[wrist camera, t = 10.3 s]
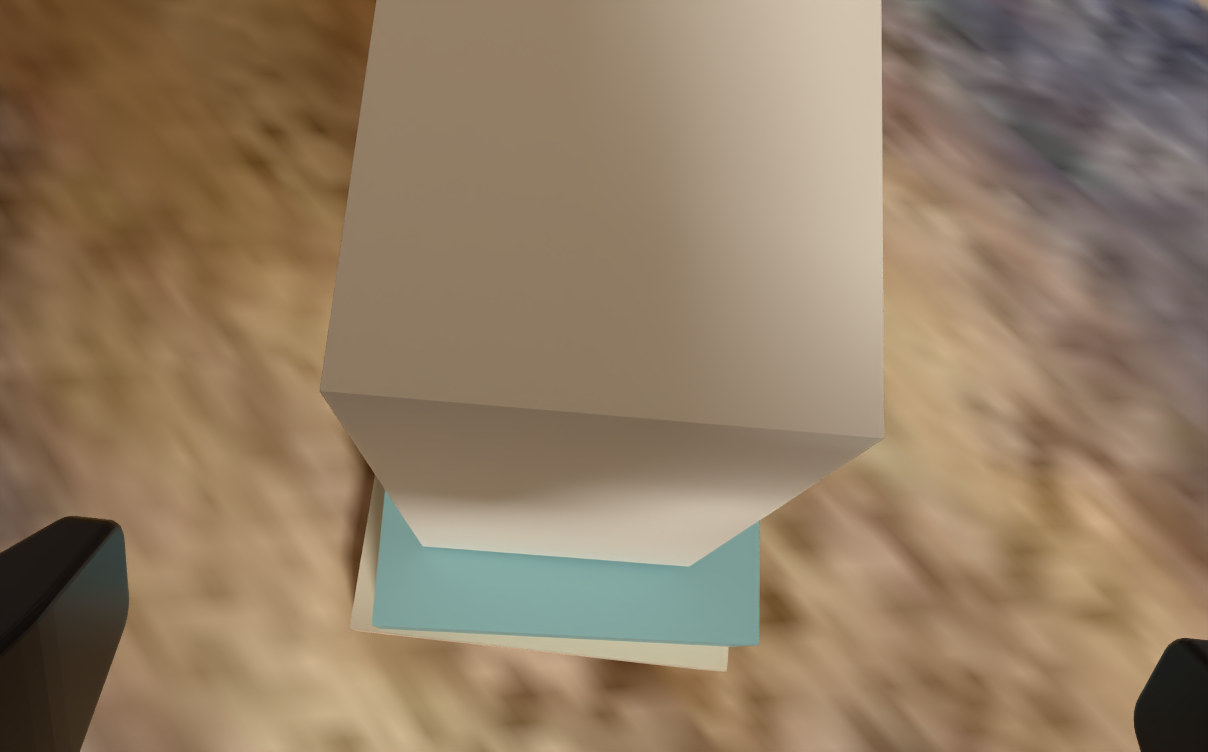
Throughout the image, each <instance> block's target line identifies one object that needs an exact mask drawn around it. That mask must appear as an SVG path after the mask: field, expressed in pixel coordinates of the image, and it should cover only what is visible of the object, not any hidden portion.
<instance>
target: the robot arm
mask: <svg viewBox="0 0 1208 752" xmlns="http://www.w3.org/2000/svg"><path fill="white" fill-rule="evenodd" d="M128 608H129V592H128V579H127V566H126V554H125V541H124V534H123V531H122V529H121V526H120V525H119V524H118V523H116V522H115V521H113V520H106V519H97V518H88V517H79V516H67V517H64V518H61V519H59V520H57V521H55V522H54V523H52V524H50V525H48V526H47V527H45V528H43V529H41V530H40V531H38V532H36V533H34V534H33V535H31V536H29V537H27V538H26V539H24V540H22V541H20V542H19V543H17V544H15V545H14V546H12V547H10V548H8V549H7V550H5V551H3V552H1V553H0V752H80V750H81V747H82V744H83V741H84V739H85V736H86V733H87V730H88V727H89V725H90V722H91V719H92V716H93V714H94V711H95V708H96V705H97V703H98V700H99V697H100V694H101V691H102V689H103V686H104V683H105V680H106V678H107V675H108V672H109V669H110V666H111V664H112V661H113V658H114V655H115V653H116V650H117V647H118V644H119V642H120V639H121V636H122V633H123V630H124V627H125V624H126V620H127V615H128ZM1134 728H1135V733H1136V737H1137V740H1138V744H1139V747H1140V750H1141V752H1208V640H1200V639H1190V638H1181V639H1176V640H1175V641H1173V642H1172V643H1171V644H1169V645H1168V647H1167V648H1166V649H1165V651H1164V653H1163V655H1162V656H1161V658H1160V660H1159V662H1158V664H1157V665H1156V667H1155V669H1154V671H1153V673H1152V674H1151V676H1150V678H1149V680H1148V682H1147V684H1146V685H1145V687H1144V689H1143V691H1142V693H1141V694H1140V696H1139V698H1138V700H1137V702H1136V706H1135V710H1134Z"/></svg>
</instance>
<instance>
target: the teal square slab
mask: <svg viewBox="0 0 1208 752" xmlns="http://www.w3.org/2000/svg"><path fill="white" fill-rule="evenodd" d="M759 580H760V520H759V521H758V522H756V523H755V524H753V525H752V526H750V527H749V528H747V529H746V530H744V531H743V532H741V533H740V534H738V535H736V536H735V537H733V538H732V539H730V540H729V541H727V542H726V543H724V544H723V545H721V546H720V547H718V548H717V549H715V550H714V551H712V552H711V553H709V554H708V555H706V556H705V557H703V558H701V559H700V560H698V561H697V562H695V563H694V564H692V565H691V566H689V567H687V566H674V565H661V564H648V563H634V562H621V561H608V560H595V559H582V558H569V557H556V556H543V555H530V554H516V553H503V552H490V551H477V550H464V549H451V548H438V547H425V546H422V545H421V543H420V542H419V540H418V539H417V537H416V536H415V534H414V532H413V531H412V529H411V528H410V526H409V525H408V523H407V522H406V520H405V519H404V517H403V516H402V514H401V513H400V511H399V510H398V508H397V507H396V505H395V504H394V502H393V501H392V499H391V498H390V496H389V495H388V493H387V492H386V490H385V496H384V506H383V516H382V526H381V536H380V546H379V556H378V566H377V576H376V586H375V596H374V606H373V616H372V626H375V627H377V628H380V629H393V630H412V631H432V632H451V633H471V634H491V635H510V636H530V637H549V638H569V639H589V640H608V641H628V642H648V643H667V644H687V645H706V646H726V647H737V646H754V645H759Z"/></svg>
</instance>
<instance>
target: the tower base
mask: <svg viewBox="0 0 1208 752" xmlns="http://www.w3.org/2000/svg"><path fill="white" fill-rule="evenodd" d="M384 496H385V489H384V487H383V486H382V484H381V483H380V481H379V480H378V478H377V477H376V475H375V478H374V484H373V490H372V496H371V502H370V508H369V514H368V520H367V526H366V532H365V538H364V544H363V550H362V556H361V562H360V568H359V574H358V580H357V586H356V592H355V598H354V604H353V610H352V616H351V622H350V628H349V629H352V630H355V631H362V632H371V633H380V634H389V635H397V636H406V637H415V638H424V639H433V640H442V641H451V642H459V643H468V644H477V645H486V646H495V647H504V648H513V649H522V650H530V651H539V652H548V653H557V654H566V655H575V656H584V657H592V658H601V659H610V660H619V661H628V662H637V663H646V664H654V665H663V666H672V667H681V668H690V669H699V670H708V671H727V661H728V647H726V646H706V645H687V644H667V643H648V642H628V641H608V640H589V639H569V638H549V637H530V636H510V635H491V634H471V633H451V632H432V631H412V630H393V629H380V628H377V627H375V626H372V616H373V606H374V596H375V586H376V576H377V566H378V556H379V546H380V536H381V526H382V516H383V506H384Z"/></svg>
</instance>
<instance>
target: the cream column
mask: <svg viewBox="0 0 1208 752" xmlns="http://www.w3.org/2000/svg"><path fill="white" fill-rule="evenodd" d="M320 392H321V394H322V395H323V397H324V398H325V400H326V401H327V403H328V404H329V406H330V407H331V409H332V410H333V412H334V413H335V415H336V416H337V418H338V419H339V421H340V422H341V424H342V425H343V427H344V429H345V430H346V432H347V433H348V435H349V436H350V438H351V439H352V441H353V442H354V444H355V445H356V447H357V448H358V450H359V451H360V453H361V454H362V456H363V457H364V459H365V460H366V462H367V463H368V465H369V466H370V468H371V469H372V471H373V472H374V474H375V475H376V477H377V478H378V480H379V481H380V483H381V484H382V486H383V487H384V489H385V490H386V492H387V493H388V495H389V496H390V498H391V499H392V501H393V502H394V504H395V505H396V507H397V508H398V510H399V511H400V513H401V514H402V516H403V517H404V519H405V520H406V522H407V523H408V525H409V526H410V528H411V529H412V531H413V532H414V534H415V536H416V537H417V539H418V540H419V542H420V543H421V545H422V546H425V547H438V548H451V549H464V550H477V551H490V552H503V553H516V554H530V555H543V556H556V557H569V558H582V559H595V560H608V561H621V562H634V563H648V564H661V565H674V566H687V567H689V566H691V565H692V564H694V563H695V562H697V561H698V560H700V559H701V558H703V557H705V556H706V555H708V554H709V553H711V552H712V551H714V550H715V549H717V548H718V547H720V546H721V545H723V544H724V543H726V542H727V541H729V540H730V539H732V538H733V537H735V536H736V535H738V534H740V533H741V532H743V531H744V530H746V529H747V528H749V527H750V526H752V525H753V524H755V523H756V522H758V521H759V520H761V519H762V518H764V517H765V516H767V515H768V514H770V513H771V512H773V511H775V510H776V509H778V508H779V507H781V506H782V505H784V504H785V503H787V502H788V501H790V500H791V499H793V498H794V497H796V496H797V495H799V494H800V493H802V492H803V491H805V490H806V489H808V488H810V487H811V486H813V485H814V484H816V483H817V482H819V481H820V480H822V479H823V478H825V477H826V476H828V475H829V474H831V473H832V472H834V471H835V470H837V469H838V468H840V467H841V466H843V465H845V464H846V463H848V462H849V461H851V460H852V459H854V458H855V457H857V456H858V455H860V454H861V453H863V452H864V451H866V450H867V449H869V448H870V447H872V446H873V445H875V444H876V443H878V442H880V441H881V440H883V439H884V356H883V204H882V52H881V0H376V6H375V13H374V20H373V27H372V34H371V41H370V47H369V54H368V61H367V68H366V75H365V82H364V89H363V96H362V102H361V109H360V116H359V123H358V130H357V137H356V144H355V151H354V157H353V164H352V171H351V178H350V185H349V192H348V199H347V206H346V212H345V219H344V226H343V233H342V240H341V247H340V254H339V261H338V267H337V274H336V281H335V288H334V295H333V302H332V309H331V316H330V322H329V329H328V336H327V343H326V350H325V357H324V364H323V371H322V377H321V384H320Z"/></svg>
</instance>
